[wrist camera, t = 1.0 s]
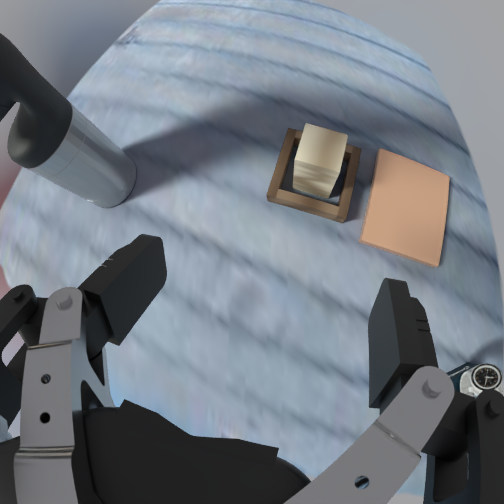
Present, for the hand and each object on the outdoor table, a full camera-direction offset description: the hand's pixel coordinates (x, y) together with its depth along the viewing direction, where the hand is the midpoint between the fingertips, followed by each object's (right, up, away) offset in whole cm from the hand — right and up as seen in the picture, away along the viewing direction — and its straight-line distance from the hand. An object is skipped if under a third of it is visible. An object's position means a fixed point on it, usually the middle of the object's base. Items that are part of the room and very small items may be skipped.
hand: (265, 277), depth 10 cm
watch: (+30, -18, +23) cm, 42 cm away
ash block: (+8, +11, +29) cm, 32 cm away
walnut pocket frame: (+8, +11, +29) cm, 32 cm away
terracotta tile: (+21, +7, +27) cm, 35 cm away
